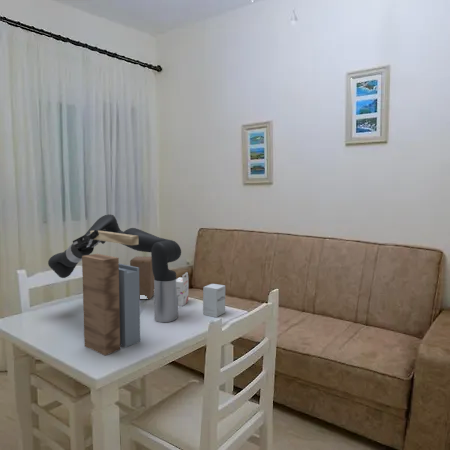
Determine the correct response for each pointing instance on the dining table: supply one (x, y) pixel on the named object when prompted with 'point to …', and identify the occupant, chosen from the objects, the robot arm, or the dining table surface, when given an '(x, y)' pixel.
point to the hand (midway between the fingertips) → (101, 231)
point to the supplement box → (214, 300)
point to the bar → (117, 238)
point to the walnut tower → (101, 303)
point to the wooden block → (144, 275)
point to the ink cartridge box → (182, 289)
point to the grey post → (129, 305)
